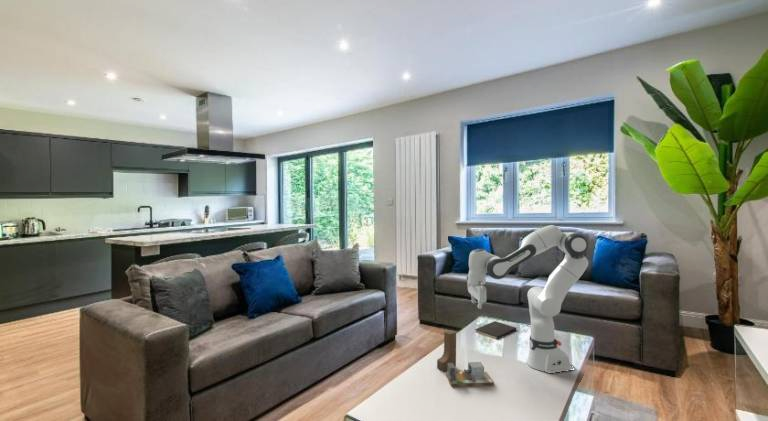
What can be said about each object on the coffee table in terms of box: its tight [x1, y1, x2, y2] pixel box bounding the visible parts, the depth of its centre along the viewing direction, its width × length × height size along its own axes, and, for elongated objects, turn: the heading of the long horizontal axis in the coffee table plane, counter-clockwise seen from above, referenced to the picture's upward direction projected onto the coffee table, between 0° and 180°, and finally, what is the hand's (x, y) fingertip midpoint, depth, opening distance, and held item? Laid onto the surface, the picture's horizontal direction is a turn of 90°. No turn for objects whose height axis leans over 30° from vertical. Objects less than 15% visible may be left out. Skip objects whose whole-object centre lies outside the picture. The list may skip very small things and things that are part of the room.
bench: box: [445, 363, 495, 388], centre depth 167 cm, size 20×10×8 cm, turn 94°
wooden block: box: [436, 329, 457, 372], centre depth 179 cm, size 9×4×18 cm, turn 122°
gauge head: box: [463, 361, 485, 382], centre depth 166 cm, size 8×8×6 cm
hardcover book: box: [474, 320, 517, 340], centre depth 228 cm, size 16×23×2 cm
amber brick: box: [459, 371, 463, 382], centre depth 163 cm, size 1×2×4 cm, turn 3°
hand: (476, 305), depth 187 cm, fingers open, 8 cm apart
